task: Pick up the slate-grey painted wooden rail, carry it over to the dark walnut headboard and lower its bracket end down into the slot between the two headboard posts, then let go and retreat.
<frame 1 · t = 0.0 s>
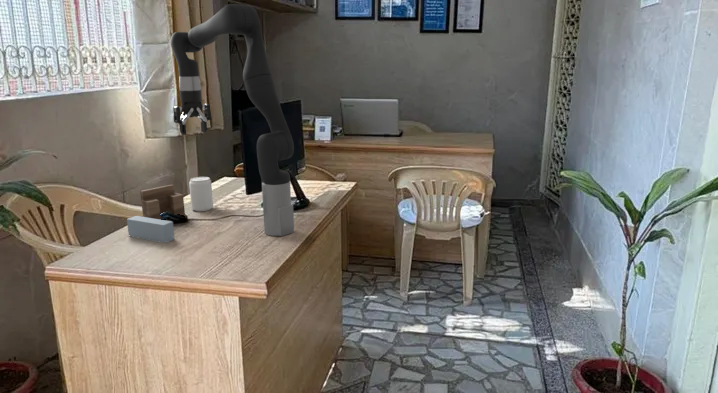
hand: (194, 133, 198), 29 cm above the table, fingers open, 8 cm apart
beverage can: (202, 209, 205), on the table
headboard: (164, 221, 190), on the table
rail: (151, 237, 173), on the table
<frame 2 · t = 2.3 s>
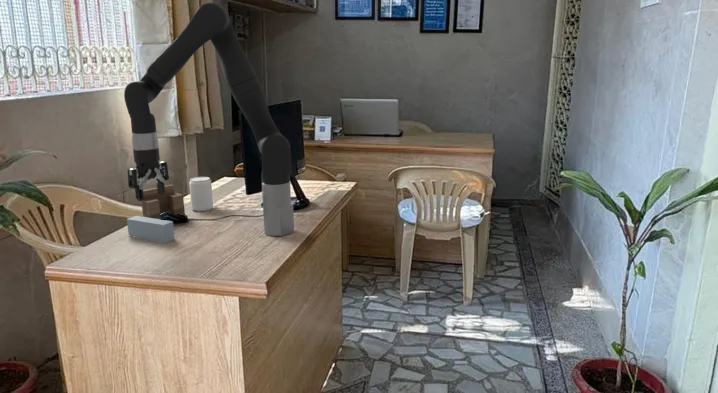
hand: (151, 197, 169), 14 cm above the table, fingers open, 8 cm apart
nothing on the table moved.
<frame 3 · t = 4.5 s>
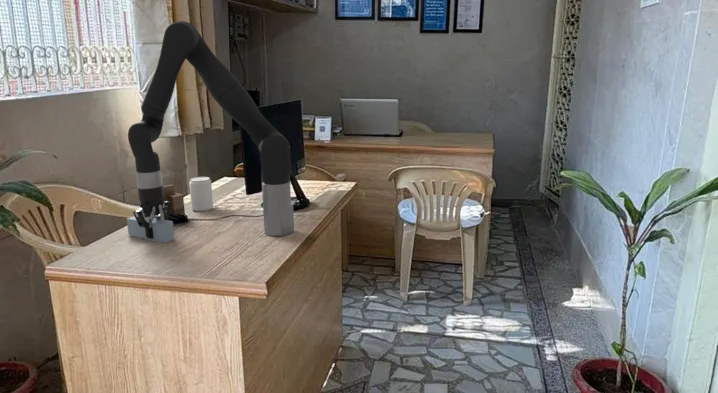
hand: (155, 235, 172), 1 cm above the table, fingers closed on rail, 4 cm apart
rail: (151, 237, 173), on the table, touching gripper
everything else where it was.
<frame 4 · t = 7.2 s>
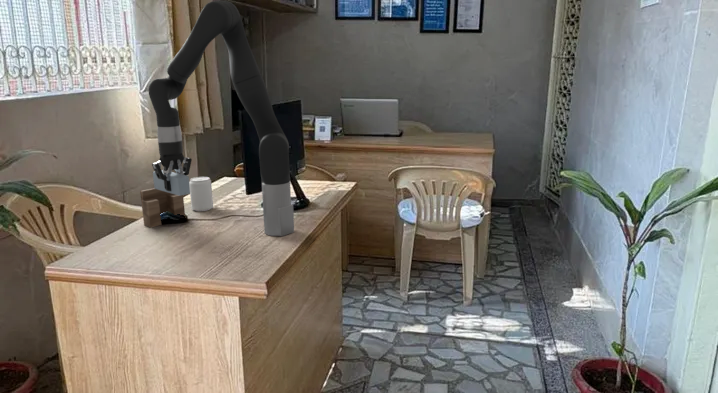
hand: (174, 189, 181), 13 cm above the table, fingers closed on rail, 4 cm apart
rail: (171, 190, 182), point 12 cm above the table, touching gripper
everything else where it was.
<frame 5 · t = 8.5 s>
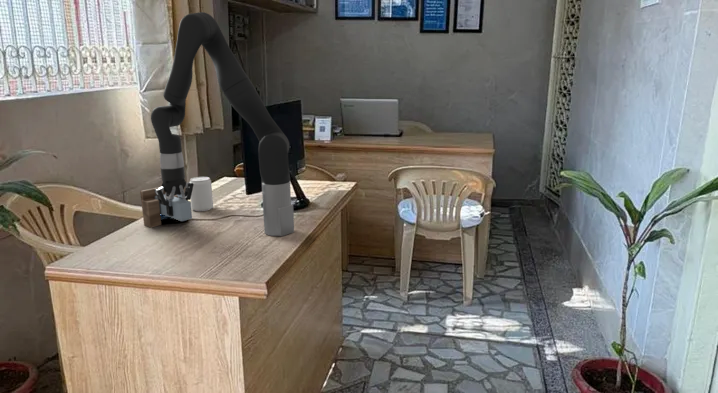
hand: (176, 214, 183), 5 cm above the table, fingers closed on rail, 4 cm apart
rail: (173, 215, 184), point 4 cm above the table, touching gripper
everything else where it was.
when the fingers open (2 cm above the table, at t = 9.8 s): rail drops 1 cm, on the table.
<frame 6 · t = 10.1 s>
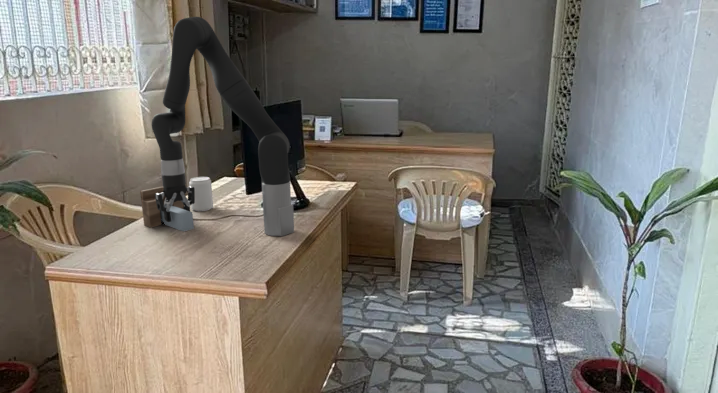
hand: (177, 219, 184), 3 cm above the table, fingers open, 6 cm apart
rail: (176, 225, 186), on the table
everything else where it was.
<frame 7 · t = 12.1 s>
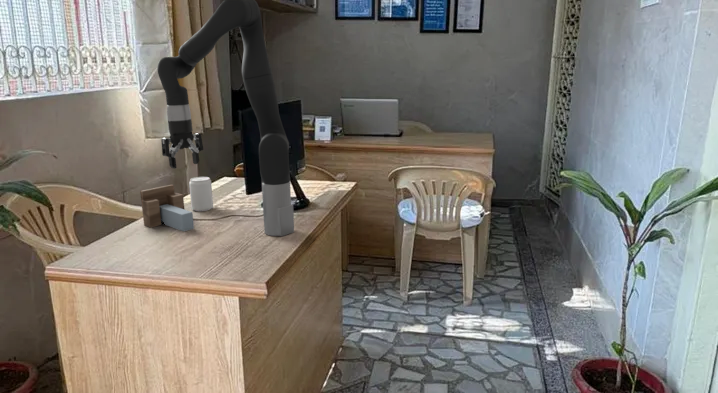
hand: (184, 165, 182), 21 cm above the table, fingers open, 8 cm apart
nothing on the table moved.
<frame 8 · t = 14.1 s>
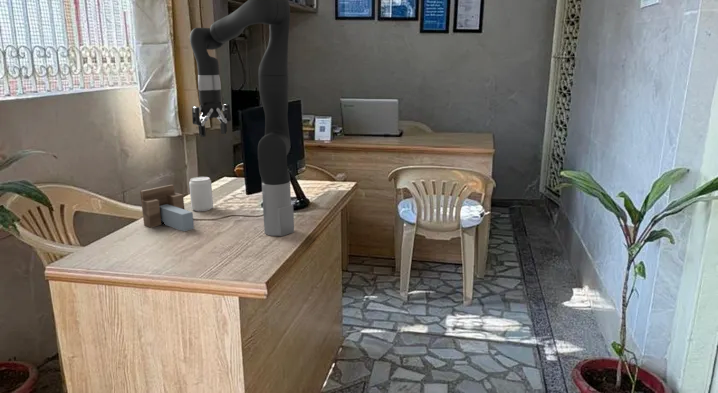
hand: (213, 135, 187), 30 cm above the table, fingers open, 8 cm apart
nothing on the table moved.
at the end: rail 0.3 cm from the target spot on the table beside the headboard, on the table; rail tilted 0°; the gripper is holding nothing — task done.
